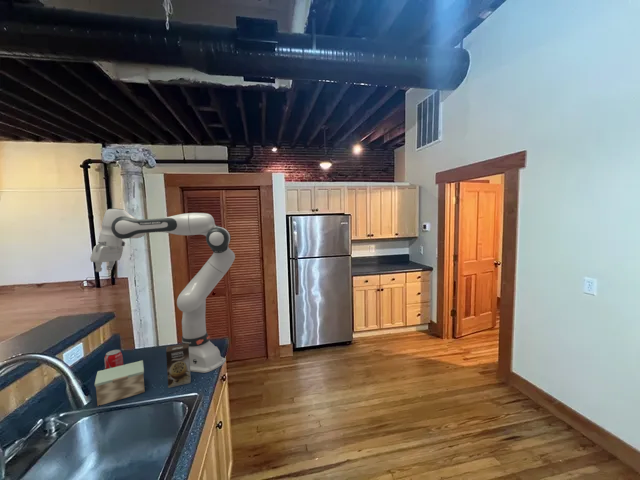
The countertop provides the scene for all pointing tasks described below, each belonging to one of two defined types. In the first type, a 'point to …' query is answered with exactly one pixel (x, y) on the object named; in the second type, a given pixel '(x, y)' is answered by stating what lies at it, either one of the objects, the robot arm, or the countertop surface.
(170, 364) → the coffee box
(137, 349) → the countertop surface
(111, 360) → the soda can
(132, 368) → the box lid
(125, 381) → the storage box
